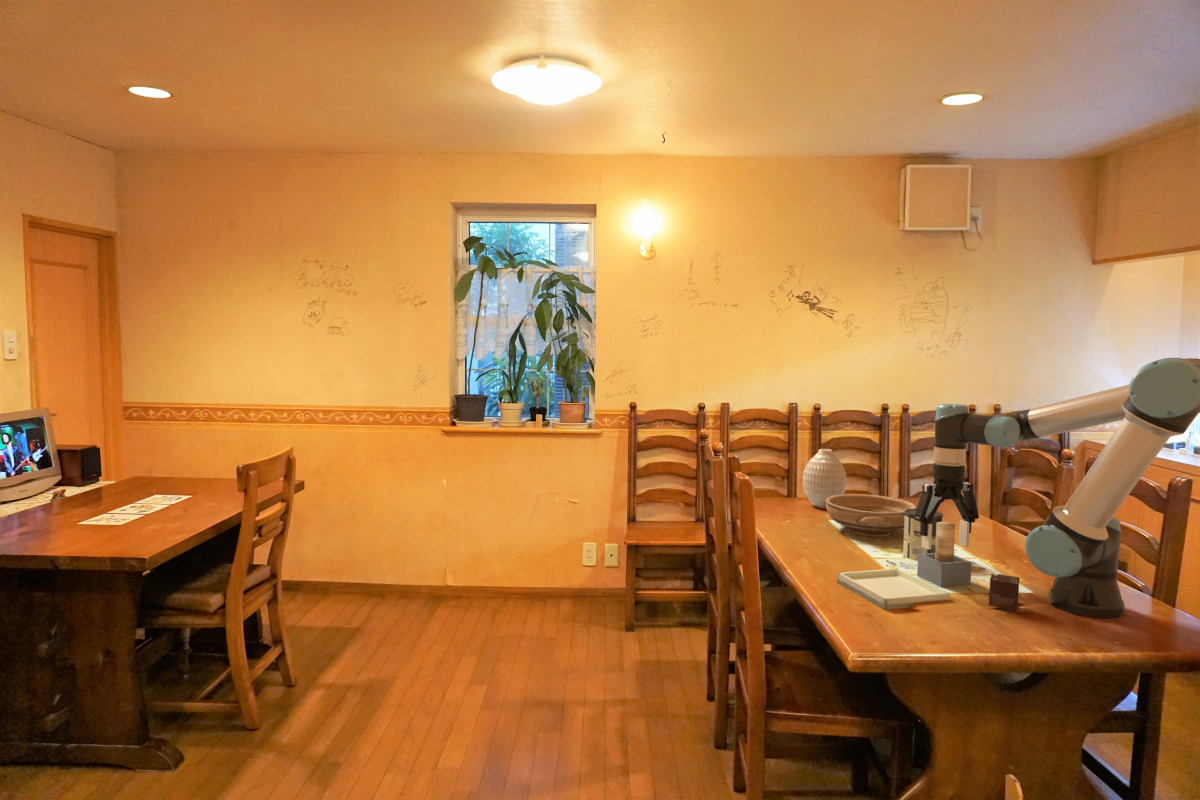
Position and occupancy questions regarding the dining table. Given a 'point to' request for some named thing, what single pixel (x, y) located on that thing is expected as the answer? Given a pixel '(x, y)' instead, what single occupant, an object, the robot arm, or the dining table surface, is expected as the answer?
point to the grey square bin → (944, 570)
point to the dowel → (945, 542)
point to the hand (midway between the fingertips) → (945, 546)
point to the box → (1004, 592)
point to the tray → (891, 588)
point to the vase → (823, 478)
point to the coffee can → (917, 535)
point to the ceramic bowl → (868, 513)
